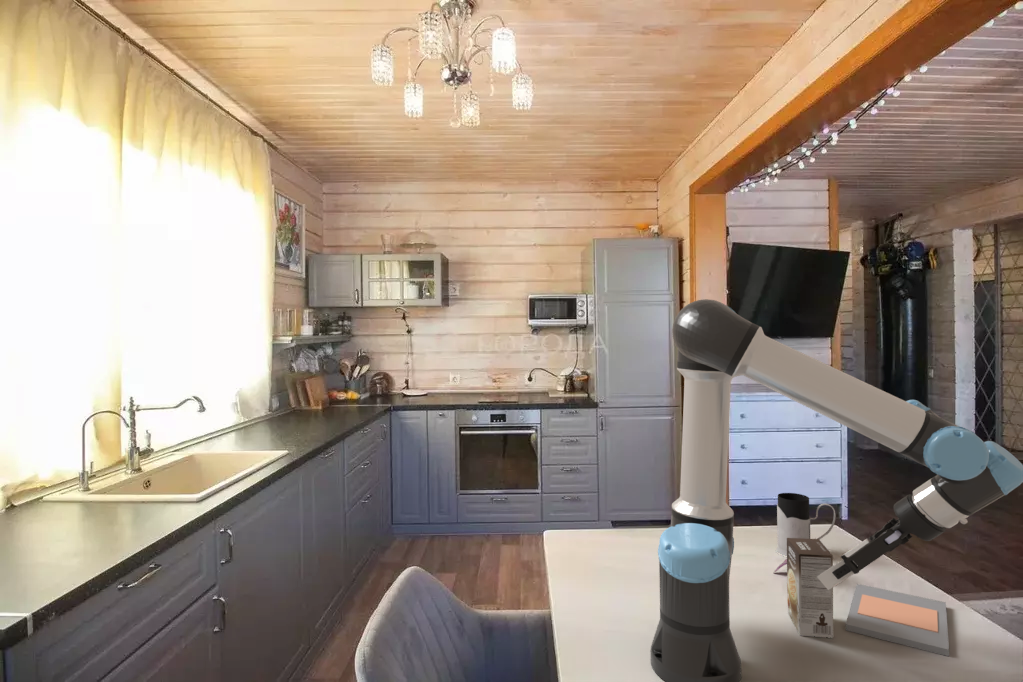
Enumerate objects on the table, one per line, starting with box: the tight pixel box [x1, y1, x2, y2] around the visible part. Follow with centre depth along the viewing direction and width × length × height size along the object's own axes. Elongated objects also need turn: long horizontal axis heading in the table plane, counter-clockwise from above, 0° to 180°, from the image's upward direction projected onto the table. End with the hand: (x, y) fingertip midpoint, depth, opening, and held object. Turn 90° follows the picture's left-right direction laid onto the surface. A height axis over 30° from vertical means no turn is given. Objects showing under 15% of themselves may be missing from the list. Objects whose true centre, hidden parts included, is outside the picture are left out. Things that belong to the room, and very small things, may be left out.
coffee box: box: [786, 538, 834, 639], centre depth 113 cm, size 9×6×16 cm
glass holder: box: [775, 492, 836, 556], centre depth 149 cm, size 9×14×15 cm, turn 70°
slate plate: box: [845, 583, 950, 657], centre depth 115 cm, size 22×16×1 cm
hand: (835, 572), depth 110 cm, fingers open, 13 cm apart
